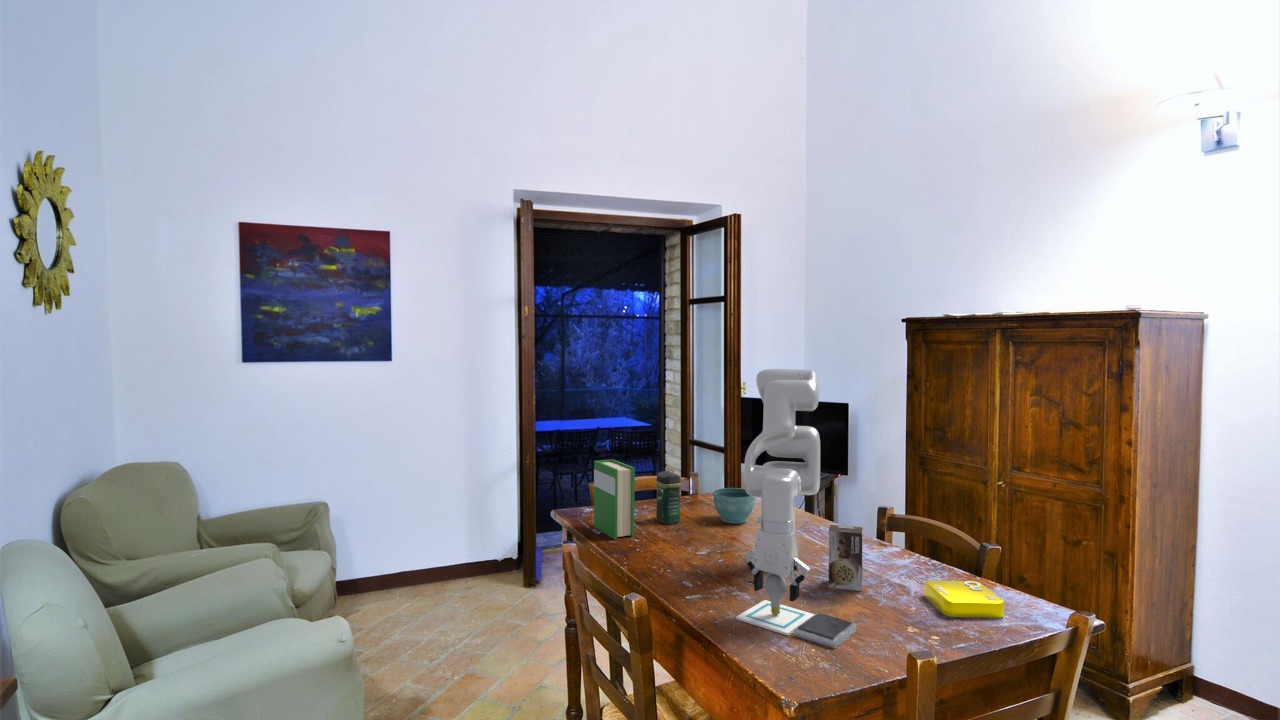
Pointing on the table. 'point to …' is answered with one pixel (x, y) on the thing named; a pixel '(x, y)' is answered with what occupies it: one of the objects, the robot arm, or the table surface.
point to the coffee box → (845, 557)
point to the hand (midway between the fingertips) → (776, 594)
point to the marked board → (774, 617)
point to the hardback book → (614, 498)
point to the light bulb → (775, 591)
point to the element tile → (964, 599)
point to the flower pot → (733, 504)
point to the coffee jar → (668, 497)
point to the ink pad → (825, 630)
